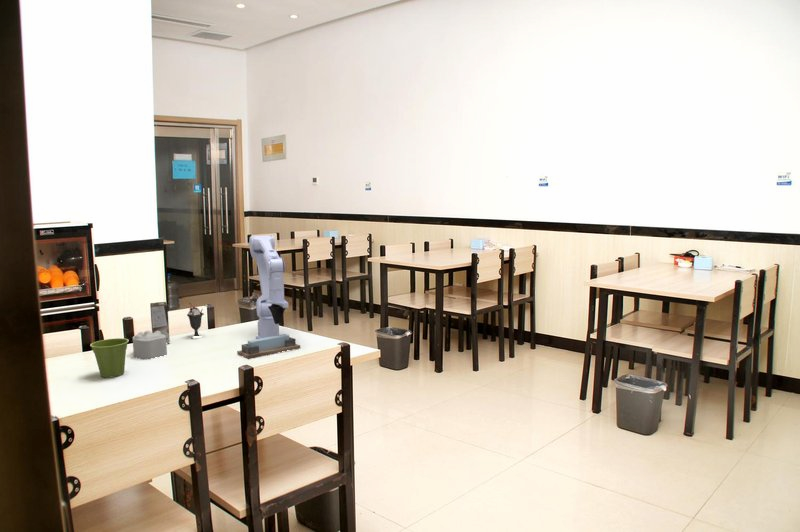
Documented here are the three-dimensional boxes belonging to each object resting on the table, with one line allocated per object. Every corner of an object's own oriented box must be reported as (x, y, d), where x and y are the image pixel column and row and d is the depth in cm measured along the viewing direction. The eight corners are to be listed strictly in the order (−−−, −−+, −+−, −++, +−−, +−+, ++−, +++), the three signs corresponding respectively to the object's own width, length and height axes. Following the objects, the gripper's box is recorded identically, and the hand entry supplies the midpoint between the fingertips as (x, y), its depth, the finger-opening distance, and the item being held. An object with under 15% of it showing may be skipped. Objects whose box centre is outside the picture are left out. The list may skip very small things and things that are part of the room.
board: (237, 354, 229) (236, 344, 229) (288, 344, 243) (288, 335, 243) (248, 359, 222) (247, 349, 222) (300, 348, 236) (300, 339, 236)
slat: (248, 351, 229) (247, 340, 228) (285, 343, 239) (285, 333, 238) (251, 352, 226) (251, 342, 226) (289, 345, 237) (289, 335, 236)
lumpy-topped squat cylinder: (144, 360, 222) (142, 337, 221) (127, 354, 231) (125, 332, 230) (170, 354, 230) (169, 332, 229) (153, 349, 239) (152, 327, 237)
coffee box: (170, 343, 246) (167, 305, 244) (153, 345, 244) (150, 306, 242) (168, 339, 254) (166, 301, 252) (152, 340, 252) (149, 302, 250)
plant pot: (120, 367, 214) (118, 336, 212) (137, 373, 206) (135, 341, 205) (86, 375, 204) (83, 343, 203) (102, 382, 197) (99, 348, 196)
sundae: (184, 338, 255) (182, 303, 253) (196, 335, 261) (194, 300, 259) (196, 340, 252) (194, 304, 250) (208, 336, 258) (206, 301, 256)
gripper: (258, 288, 239) (259, 322, 241) (276, 292, 228) (277, 328, 230) (274, 286, 244) (275, 319, 245) (292, 290, 233) (294, 325, 234)
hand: (277, 323), depth 238 cm, fingers closed
